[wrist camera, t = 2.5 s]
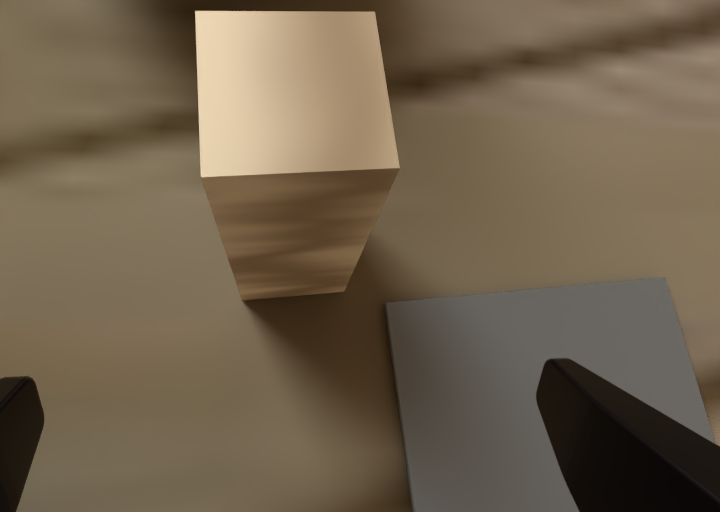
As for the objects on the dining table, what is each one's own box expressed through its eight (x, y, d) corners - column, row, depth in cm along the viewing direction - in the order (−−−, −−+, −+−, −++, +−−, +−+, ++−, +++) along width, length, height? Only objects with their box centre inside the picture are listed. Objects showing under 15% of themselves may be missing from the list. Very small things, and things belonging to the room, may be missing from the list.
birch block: (242, 300, 23) (200, 177, 11) (236, 205, 24) (195, 11, 13) (344, 291, 24) (399, 167, 12) (333, 200, 25) (375, 11, 14)
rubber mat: (453, 804, 18) (456, 812, 18) (384, 304, 24) (386, 302, 23) (790, 716, 21) (798, 721, 20) (659, 279, 26) (665, 277, 26)
